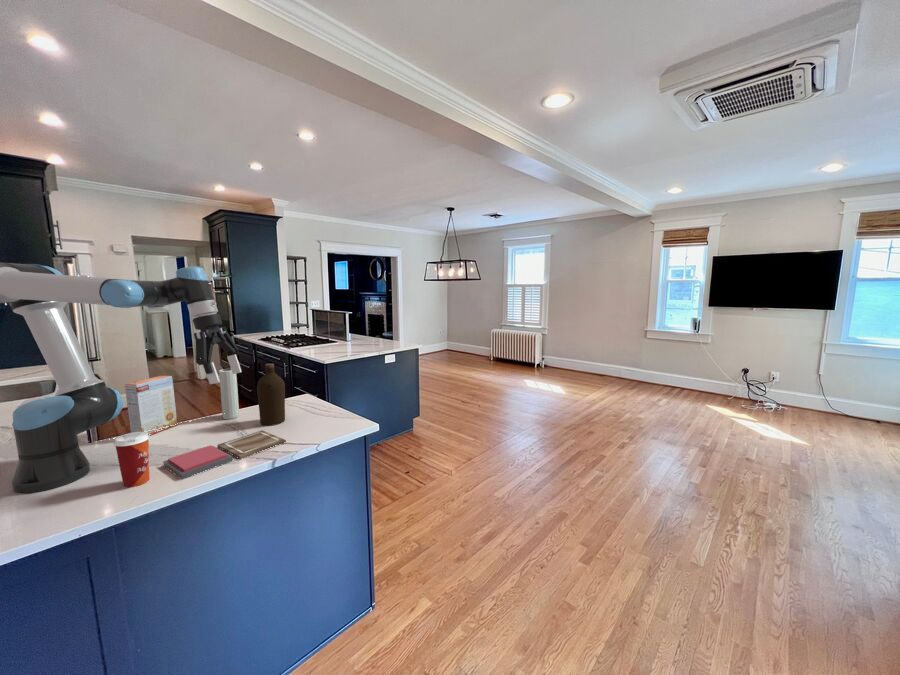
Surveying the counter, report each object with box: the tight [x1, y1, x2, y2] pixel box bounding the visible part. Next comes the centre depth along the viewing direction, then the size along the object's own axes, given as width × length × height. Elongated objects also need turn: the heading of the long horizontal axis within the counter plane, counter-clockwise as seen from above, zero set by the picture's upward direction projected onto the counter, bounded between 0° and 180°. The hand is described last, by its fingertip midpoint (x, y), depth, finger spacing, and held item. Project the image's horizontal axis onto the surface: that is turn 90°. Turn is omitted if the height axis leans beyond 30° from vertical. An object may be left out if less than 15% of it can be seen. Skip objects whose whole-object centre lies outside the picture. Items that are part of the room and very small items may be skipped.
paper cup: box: [113, 432, 151, 488], centre depth 102 cm, size 8×8×14 cm
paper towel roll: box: [218, 368, 240, 420], centre depth 155 cm, size 7×6×21 cm
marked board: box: [217, 429, 287, 460], centre depth 128 cm, size 16×16×1 cm
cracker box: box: [124, 375, 178, 435], centre depth 139 cm, size 14×6×21 cm, turn 168°
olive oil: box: [256, 362, 286, 427], centre depth 149 cm, size 11×11×25 cm
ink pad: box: [162, 445, 234, 480], centre depth 114 cm, size 14×14×2 cm
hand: (226, 377), depth 117 cm, fingers open, 13 cm apart
